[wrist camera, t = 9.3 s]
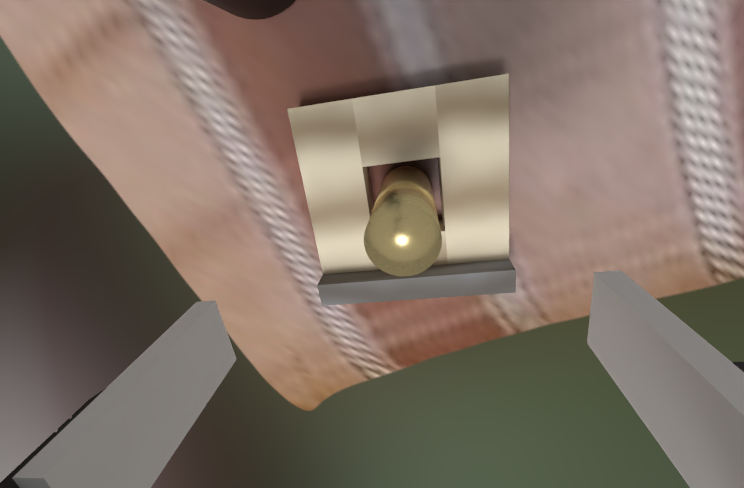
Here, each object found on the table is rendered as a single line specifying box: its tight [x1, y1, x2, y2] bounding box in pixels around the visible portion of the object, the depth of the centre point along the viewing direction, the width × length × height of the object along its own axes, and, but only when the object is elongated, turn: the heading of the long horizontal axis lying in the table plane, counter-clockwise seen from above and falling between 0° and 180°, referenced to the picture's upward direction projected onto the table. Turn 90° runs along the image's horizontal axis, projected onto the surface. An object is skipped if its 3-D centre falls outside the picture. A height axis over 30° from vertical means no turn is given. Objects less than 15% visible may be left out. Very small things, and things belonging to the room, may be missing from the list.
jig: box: [287, 74, 516, 306], centre depth 28 cm, size 16×16×5 cm
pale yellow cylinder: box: [364, 166, 442, 276], centre depth 25 cm, size 4×4×12 cm
